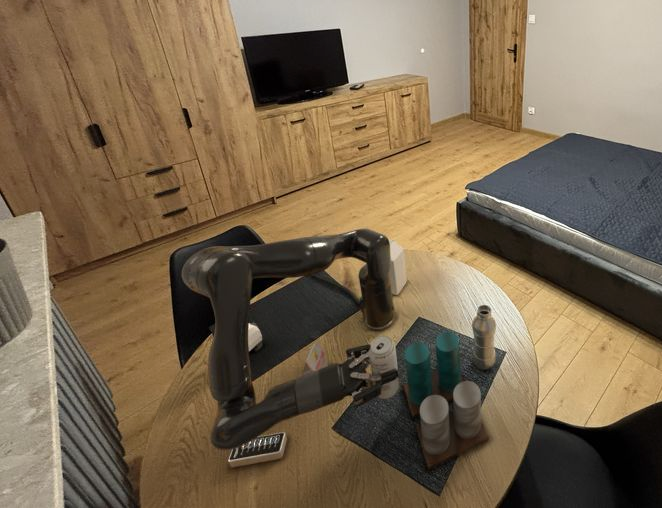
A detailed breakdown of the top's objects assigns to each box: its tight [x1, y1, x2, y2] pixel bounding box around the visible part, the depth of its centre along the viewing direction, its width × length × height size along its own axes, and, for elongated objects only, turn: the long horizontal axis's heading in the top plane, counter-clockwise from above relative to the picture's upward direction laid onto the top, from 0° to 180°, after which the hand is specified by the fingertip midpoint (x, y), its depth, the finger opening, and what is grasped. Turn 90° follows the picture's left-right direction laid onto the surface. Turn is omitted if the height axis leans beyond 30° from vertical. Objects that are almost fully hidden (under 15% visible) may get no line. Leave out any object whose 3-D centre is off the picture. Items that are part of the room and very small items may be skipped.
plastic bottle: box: [471, 304, 497, 371], centre depth 101 cm, size 6×7×20 cm
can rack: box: [402, 331, 464, 419], centre depth 95 cm, size 15×9×16 cm, turn 114°
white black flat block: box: [227, 431, 288, 468], centre depth 84 cm, size 4×11×2 cm, turn 99°
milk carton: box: [389, 237, 408, 296], centre depth 130 cm, size 7×7×19 cm
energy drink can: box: [369, 335, 400, 400], centre depth 87 cm, size 6×6×15 cm
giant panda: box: [207, 322, 263, 365], centre depth 105 cm, size 15×6×10 cm, turn 157°
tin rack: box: [416, 380, 490, 471], centre depth 85 cm, size 15×9×12 cm, turn 114°
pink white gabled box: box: [300, 340, 329, 376], centre depth 100 cm, size 4×7×10 cm, turn 178°
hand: (394, 360), depth 88 cm, fingers closed on energy drink can, 6 cm apart
